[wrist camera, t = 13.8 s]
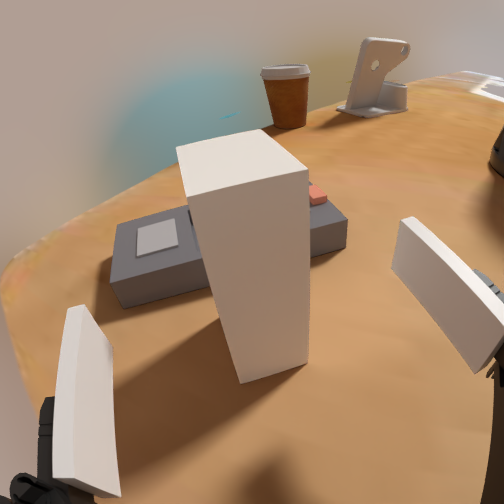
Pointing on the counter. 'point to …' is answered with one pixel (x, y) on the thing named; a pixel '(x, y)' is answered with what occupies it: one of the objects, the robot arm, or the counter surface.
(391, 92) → the phone holder
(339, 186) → the counter surface
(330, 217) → the power strip
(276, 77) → the disposable coffee cup
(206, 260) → the block
